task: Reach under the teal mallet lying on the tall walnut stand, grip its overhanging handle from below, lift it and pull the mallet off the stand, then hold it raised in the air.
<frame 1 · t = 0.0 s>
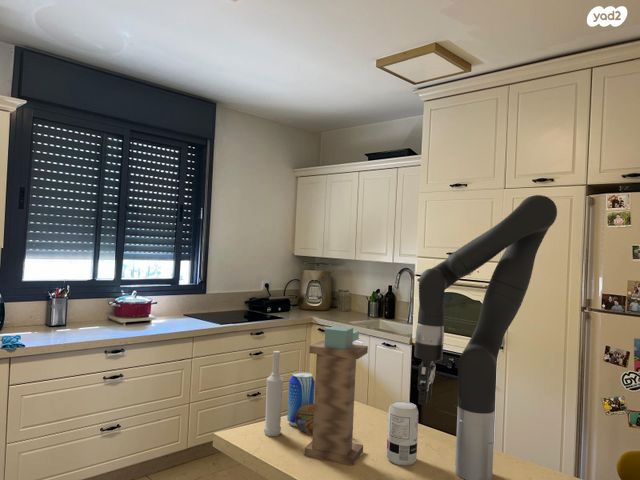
hand: (424, 400, 127), 17 cm above the countertop, tool pointing down, fingers open, 8 cm apart
stand: (334, 453, 130), on the countertop
beer can: (299, 424, 153), on the countertop
bottle: (272, 434, 143), on the countertop
mallet: (348, 341, 140), point 30 cm above the countertop, touching stand
tin: (318, 432, 146), on the countertop
supplement can: (401, 460, 128), on the countertop
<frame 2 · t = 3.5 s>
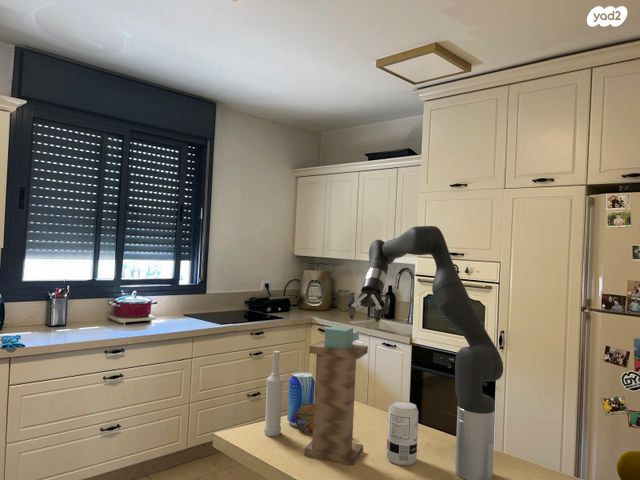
hand: (364, 319, 155), 35 cm above the countertop, tool tilted 45°, fingers open, 8 cm apart
nothing on the countertop moved.
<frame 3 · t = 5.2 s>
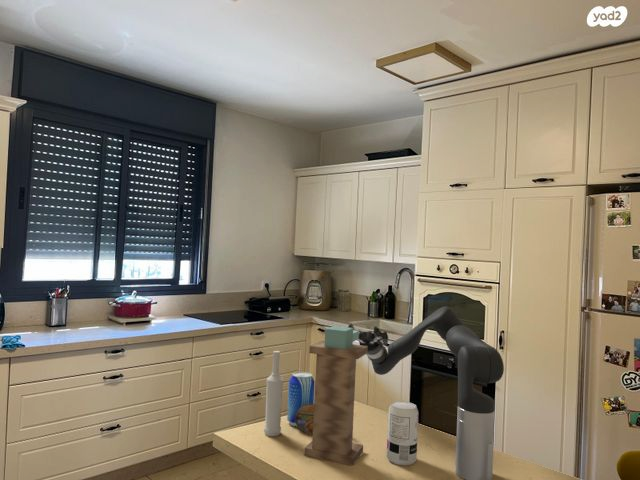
hand: (362, 327, 154), 32 cm above the countertop, tool pointing upward, fingers open, 8 cm apart
nothing on the countertop moved.
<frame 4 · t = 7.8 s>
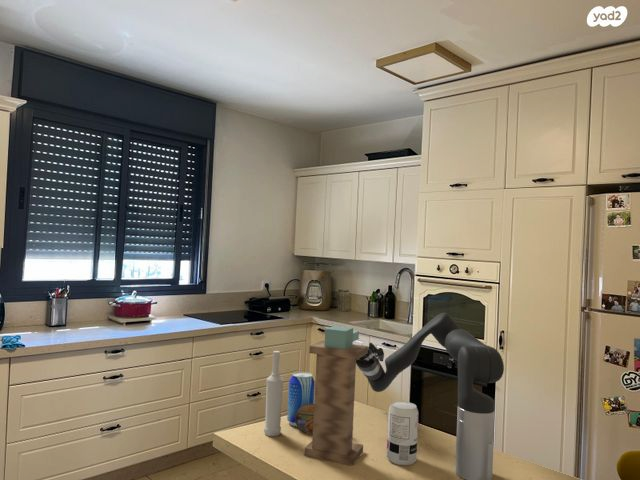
hand: (357, 343, 148), 28 cm above the countertop, tool pointing upward, fingers open, 8 cm apart
nothing on the countertop moved.
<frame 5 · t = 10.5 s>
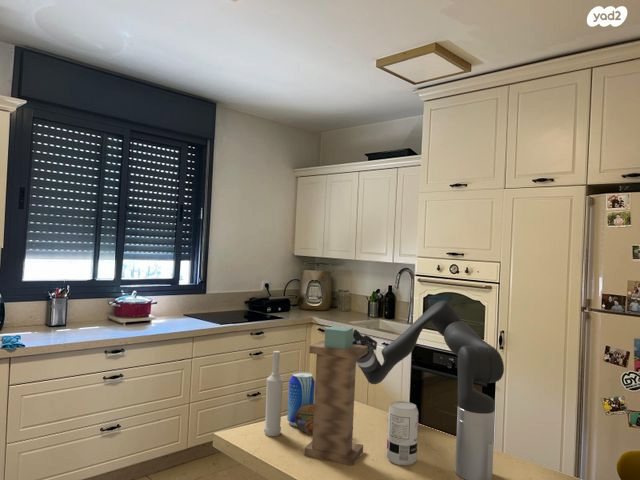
hand: (349, 332, 141), 33 cm above the countertop, tool pointing upward, fingers closed on mallet, 2 cm apart
mallet: (348, 341, 140), point 30 cm above the countertop, touching gripper, stand
everything else where it was.
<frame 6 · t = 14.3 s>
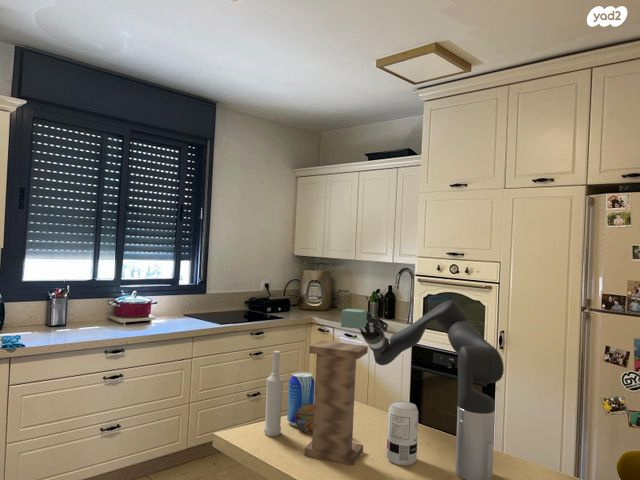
hand: (363, 314, 154), 37 cm above the countertop, tool pointing upward, fingers closed on mallet, 2 cm apart
mallet: (362, 323, 153), point 34 cm above the countertop, touching gripper
everything else where it was.
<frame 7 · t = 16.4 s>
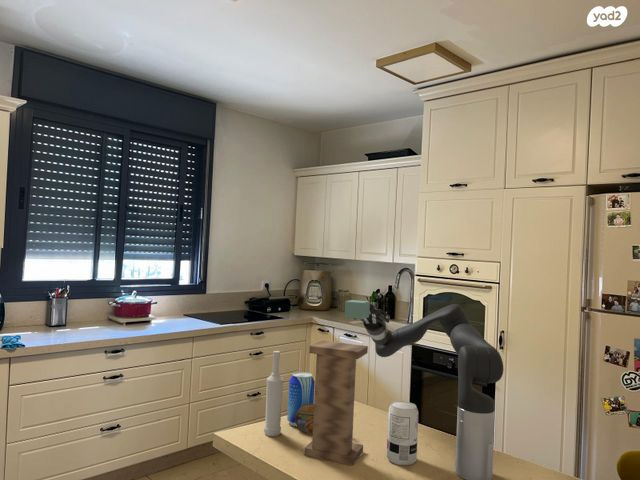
hand: (366, 305, 157), 39 cm above the countertop, tool pointing upward, fingers closed on mallet, 2 cm apart
mallet: (365, 314, 156), point 37 cm above the countertop, touching gripper
everything else where it was.
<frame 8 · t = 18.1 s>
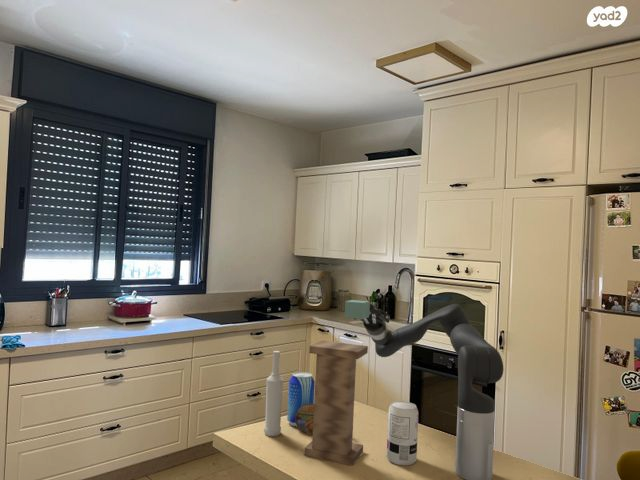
hand: (366, 305, 157), 39 cm above the countertop, tool pointing upward, fingers closed on mallet, 2 cm apart
mallet: (365, 314, 156), point 37 cm above the countertop, touching gripper
everything else where it was.
at the end: the gripper is holding mallet; mallet point 36.6 cm above the countertop; mallet touching gripper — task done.
